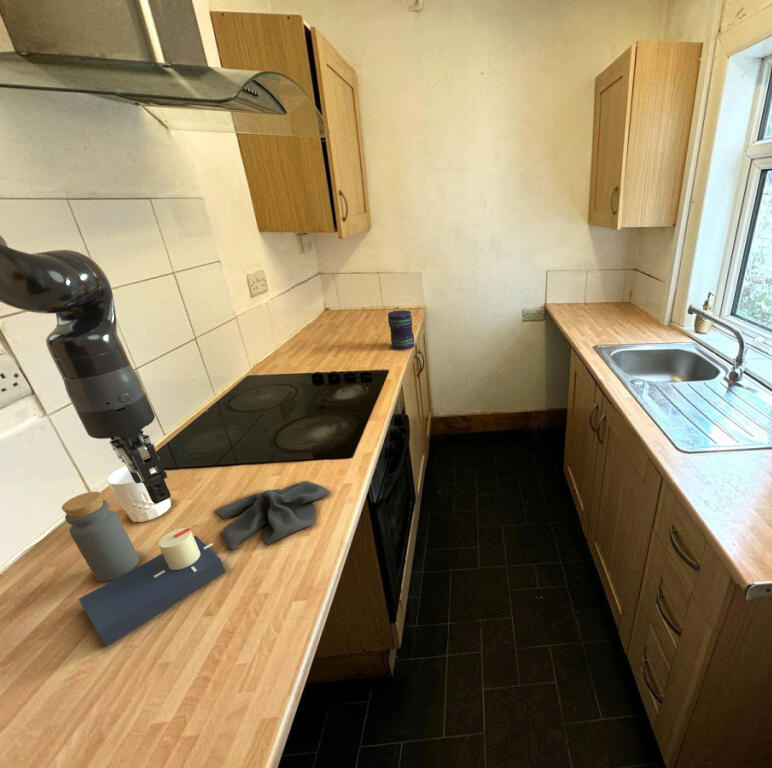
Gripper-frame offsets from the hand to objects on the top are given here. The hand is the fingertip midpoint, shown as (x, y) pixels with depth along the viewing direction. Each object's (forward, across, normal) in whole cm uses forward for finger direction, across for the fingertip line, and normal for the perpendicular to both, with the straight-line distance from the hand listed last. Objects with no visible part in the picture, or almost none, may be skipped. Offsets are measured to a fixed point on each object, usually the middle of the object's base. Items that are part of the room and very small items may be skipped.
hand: (152, 490), depth 66 cm
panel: (+17, +1, -5) cm, 18 cm away
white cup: (+17, -24, +1) cm, 30 cm away
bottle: (+18, -11, -7) cm, 22 cm away
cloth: (+18, -3, +15) cm, 23 cm away
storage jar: (+18, -63, +103) cm, 122 cm away
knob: (+14, +1, 0) cm, 14 cm away
